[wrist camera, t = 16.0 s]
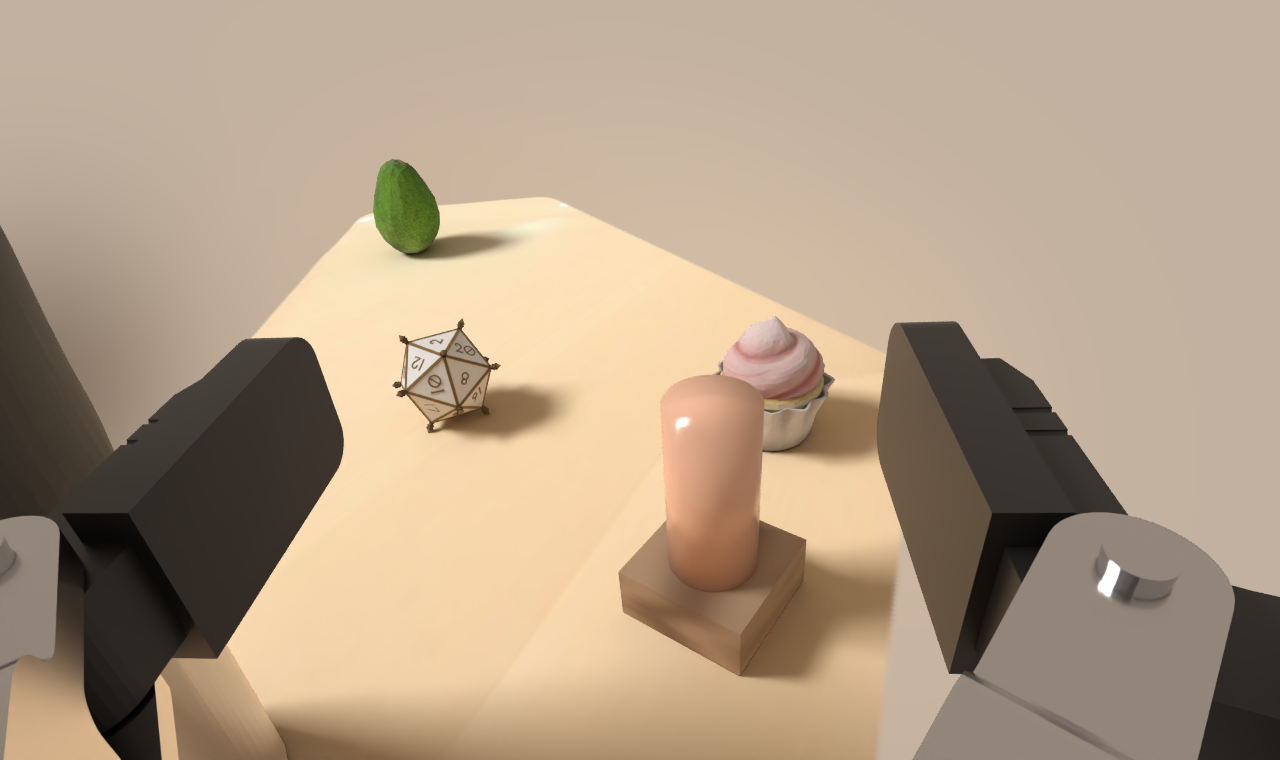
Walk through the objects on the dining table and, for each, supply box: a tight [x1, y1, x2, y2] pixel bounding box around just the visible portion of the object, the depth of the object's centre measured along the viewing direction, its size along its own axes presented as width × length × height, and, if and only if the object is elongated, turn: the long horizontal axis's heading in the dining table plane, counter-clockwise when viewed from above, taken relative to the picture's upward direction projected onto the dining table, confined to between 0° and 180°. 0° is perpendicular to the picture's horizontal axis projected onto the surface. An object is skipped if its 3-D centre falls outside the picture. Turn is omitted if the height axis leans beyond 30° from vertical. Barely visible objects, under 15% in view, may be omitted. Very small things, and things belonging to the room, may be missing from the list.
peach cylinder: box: [661, 375, 764, 592], centre depth 39 cm, size 5×5×11 cm
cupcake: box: [712, 316, 835, 451], centre depth 56 cm, size 9×9×10 cm
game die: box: [392, 318, 501, 433], centre depth 61 cm, size 9×8×10 cm
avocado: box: [373, 159, 440, 254], centre depth 92 cm, size 8×8×12 cm
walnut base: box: [619, 520, 806, 676], centre depth 44 cm, size 8×8×4 cm
